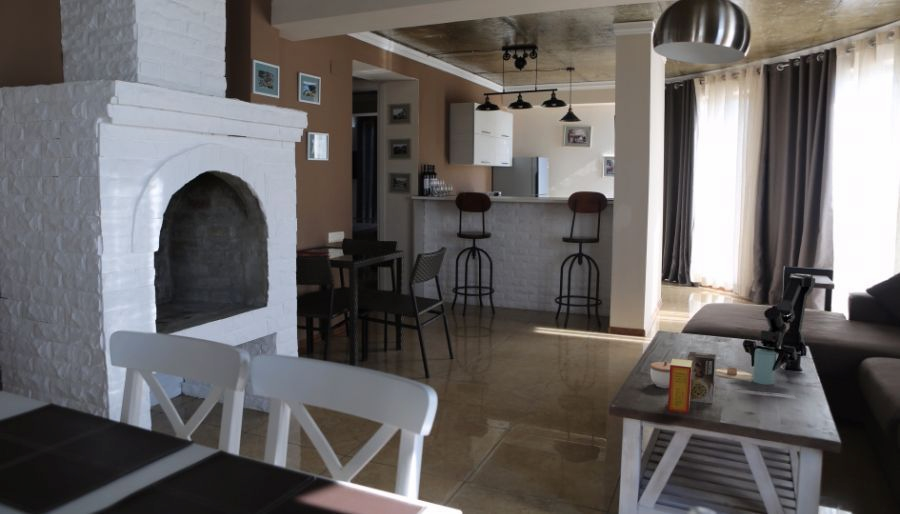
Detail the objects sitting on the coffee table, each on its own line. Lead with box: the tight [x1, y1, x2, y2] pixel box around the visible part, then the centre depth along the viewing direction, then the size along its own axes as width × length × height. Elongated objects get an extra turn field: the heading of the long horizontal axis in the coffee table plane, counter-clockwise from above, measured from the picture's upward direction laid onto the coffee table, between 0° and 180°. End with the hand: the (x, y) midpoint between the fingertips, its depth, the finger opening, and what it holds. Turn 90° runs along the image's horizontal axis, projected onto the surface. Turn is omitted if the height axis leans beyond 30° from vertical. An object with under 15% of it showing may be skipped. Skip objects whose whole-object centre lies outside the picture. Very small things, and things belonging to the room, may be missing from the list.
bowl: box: [726, 366, 738, 375], centre depth 273 cm, size 4×4×3 cm
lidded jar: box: [650, 360, 671, 389], centre depth 259 cm, size 11×11×9 cm
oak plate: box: [715, 368, 753, 381], centre depth 273 cm, size 15×15×1 cm
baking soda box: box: [667, 357, 692, 414], centre depth 234 cm, size 10×6×16 cm
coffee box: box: [687, 351, 717, 405], centre depth 243 cm, size 9×6×16 cm
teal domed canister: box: [752, 349, 777, 386], centre depth 263 cm, size 7×7×13 cm
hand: (762, 368), depth 262 cm, fingers closed on teal domed canister, 7 cm apart
